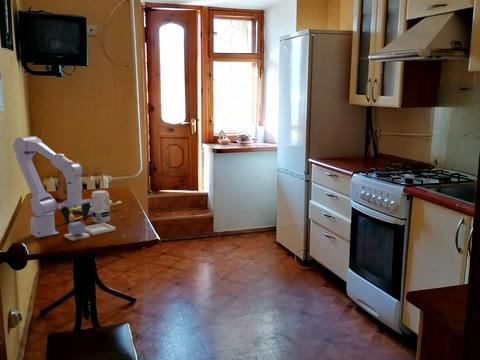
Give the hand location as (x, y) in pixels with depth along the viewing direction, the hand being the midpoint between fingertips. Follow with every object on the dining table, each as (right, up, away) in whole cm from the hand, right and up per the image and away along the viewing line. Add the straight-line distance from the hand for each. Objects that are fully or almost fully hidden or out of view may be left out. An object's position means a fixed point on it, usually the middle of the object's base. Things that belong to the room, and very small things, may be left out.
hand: (76, 222), depth 199 cm
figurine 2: (-8, +1, +51) cm, 52 cm away
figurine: (-13, -2, +27) cm, 30 cm away
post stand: (0, -6, +1) cm, 7 cm away
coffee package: (-34, +7, +83) cm, 90 cm away
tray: (+6, -5, +11) cm, 14 cm away
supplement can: (+3, -2, +27) cm, 27 cm away
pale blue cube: (0, -5, +1) cm, 5 cm away
